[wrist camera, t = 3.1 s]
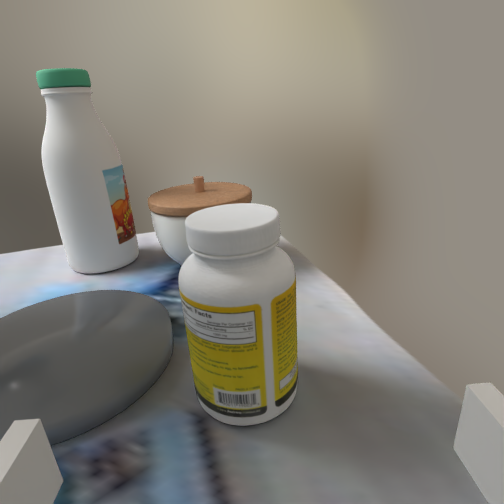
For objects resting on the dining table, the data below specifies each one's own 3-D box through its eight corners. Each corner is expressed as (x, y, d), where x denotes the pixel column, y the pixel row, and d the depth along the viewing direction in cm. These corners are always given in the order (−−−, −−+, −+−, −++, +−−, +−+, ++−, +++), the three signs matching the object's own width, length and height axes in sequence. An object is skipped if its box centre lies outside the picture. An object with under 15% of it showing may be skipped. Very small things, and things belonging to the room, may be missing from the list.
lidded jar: (273, 265, 39) (270, 176, 35) (176, 293, 34) (161, 194, 30) (230, 237, 47) (224, 164, 44) (148, 256, 43) (134, 177, 39)
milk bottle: (104, 280, 37) (52, 63, 30) (54, 269, 41) (-4, 72, 33) (153, 252, 44) (121, 68, 36) (107, 245, 47) (69, 74, 39)
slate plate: (-144, 466, 19) (-158, 445, 18) (17, 311, 32) (12, 296, 32) (150, 442, 19) (145, 420, 18) (185, 298, 33) (183, 284, 32)
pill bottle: (266, 345, 26) (258, 193, 22) (319, 402, 21) (322, 217, 17) (182, 376, 23) (155, 211, 19) (219, 450, 18) (192, 247, 14)
